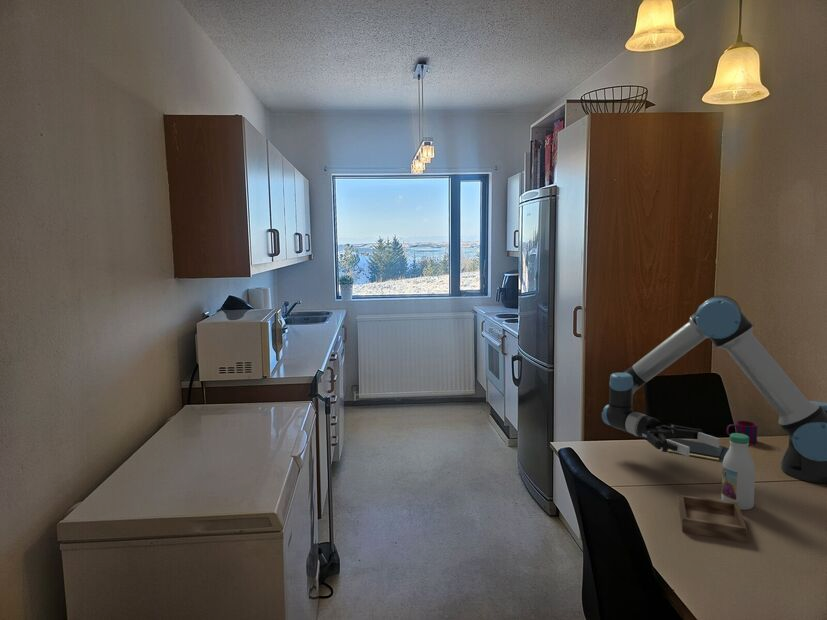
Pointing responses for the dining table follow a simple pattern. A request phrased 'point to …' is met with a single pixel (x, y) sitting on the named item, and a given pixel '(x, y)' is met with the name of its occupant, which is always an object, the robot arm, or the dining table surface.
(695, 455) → the dark grey flat slab
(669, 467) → the dining table surface
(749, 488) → the milk bottle
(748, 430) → the mug
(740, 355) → the robot arm
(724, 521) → the walnut tray
